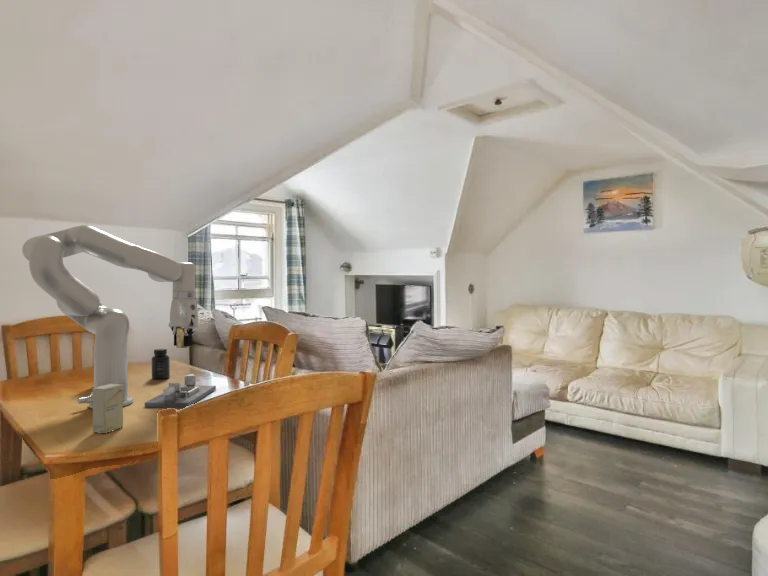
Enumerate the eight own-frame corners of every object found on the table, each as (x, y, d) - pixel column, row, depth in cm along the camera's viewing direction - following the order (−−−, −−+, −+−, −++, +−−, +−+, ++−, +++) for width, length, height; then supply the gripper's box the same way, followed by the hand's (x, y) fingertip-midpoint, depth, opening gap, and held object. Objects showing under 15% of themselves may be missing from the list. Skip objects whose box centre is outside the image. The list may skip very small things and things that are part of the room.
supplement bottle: (173, 376, 198) (172, 348, 198) (164, 380, 191) (163, 350, 191) (157, 376, 199) (157, 348, 199) (148, 379, 192) (147, 350, 192)
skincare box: (105, 434, 126) (104, 389, 125) (91, 433, 127) (91, 388, 127) (124, 427, 132) (123, 384, 131) (111, 425, 133) (110, 383, 133)
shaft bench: (187, 407, 152) (187, 387, 151) (144, 407, 152) (144, 387, 152) (215, 389, 176) (215, 372, 175) (178, 389, 176) (178, 372, 176)
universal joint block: (181, 348, 170) (181, 328, 170) (172, 347, 172) (173, 328, 172) (194, 346, 175) (194, 327, 175) (185, 345, 177) (186, 327, 177)
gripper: (208, 296, 172) (207, 346, 173) (176, 295, 180) (175, 343, 180) (191, 296, 166) (190, 348, 166) (159, 295, 173) (158, 345, 173)
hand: (182, 345), depth 173 cm, fingers closed on universal joint block, 4 cm apart
